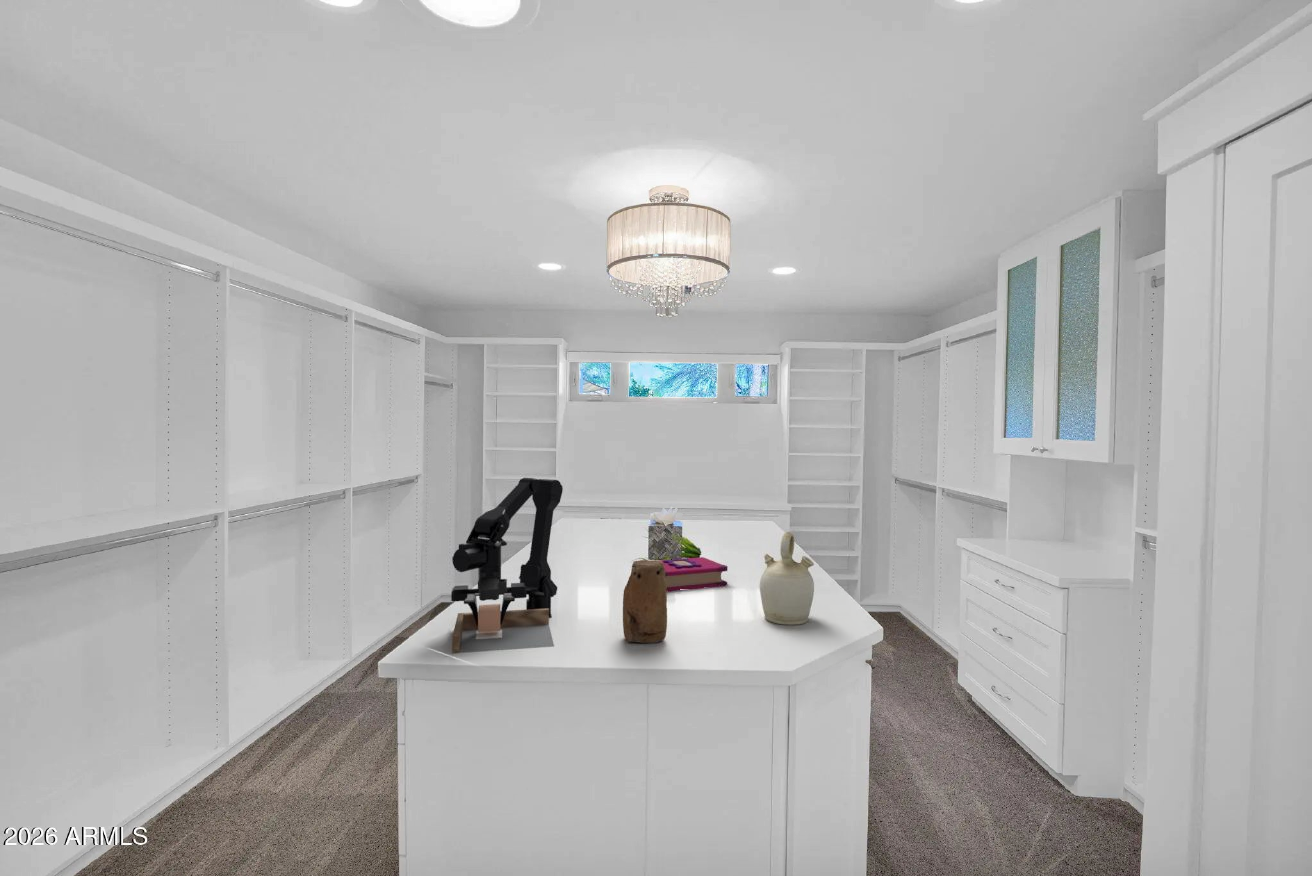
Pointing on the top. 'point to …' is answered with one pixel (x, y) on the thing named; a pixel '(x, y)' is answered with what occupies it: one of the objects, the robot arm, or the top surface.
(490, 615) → the cube
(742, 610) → the top surface
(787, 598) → the jug
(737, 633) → the top surface
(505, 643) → the mat
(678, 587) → the book
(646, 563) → the brown carved figurine
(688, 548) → the decorative plant
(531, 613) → the corner walls
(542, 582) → the robot arm
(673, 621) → the top surface
